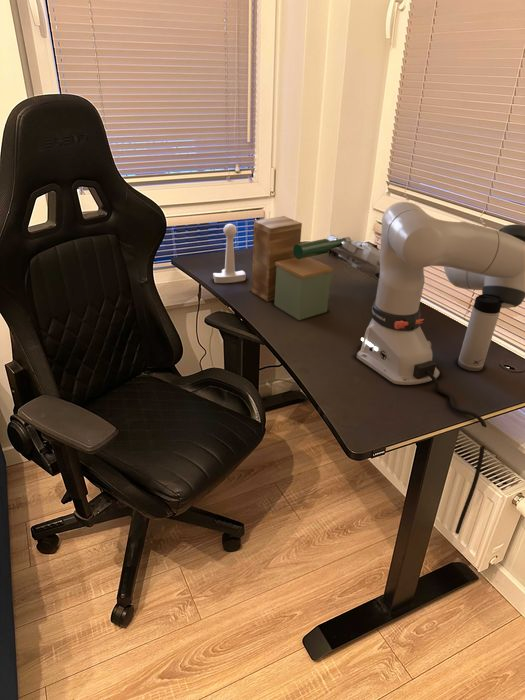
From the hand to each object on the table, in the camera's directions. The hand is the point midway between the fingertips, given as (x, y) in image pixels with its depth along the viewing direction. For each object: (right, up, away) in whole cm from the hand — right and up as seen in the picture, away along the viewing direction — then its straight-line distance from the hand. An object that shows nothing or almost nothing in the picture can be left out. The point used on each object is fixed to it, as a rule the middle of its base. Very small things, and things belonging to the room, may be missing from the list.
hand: (338, 241), depth 157 cm
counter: (-12, -20, +3) cm, 24 cm away
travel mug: (+32, -38, -23) cm, 54 cm away
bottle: (-5, -4, -2) cm, 6 cm away
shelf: (-20, -14, +13) cm, 27 cm away
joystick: (-36, -8, +22) cm, 43 cm away
